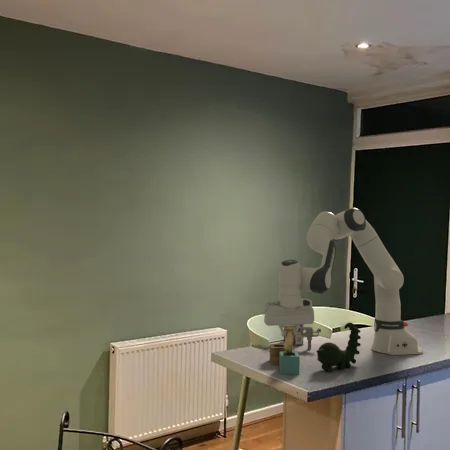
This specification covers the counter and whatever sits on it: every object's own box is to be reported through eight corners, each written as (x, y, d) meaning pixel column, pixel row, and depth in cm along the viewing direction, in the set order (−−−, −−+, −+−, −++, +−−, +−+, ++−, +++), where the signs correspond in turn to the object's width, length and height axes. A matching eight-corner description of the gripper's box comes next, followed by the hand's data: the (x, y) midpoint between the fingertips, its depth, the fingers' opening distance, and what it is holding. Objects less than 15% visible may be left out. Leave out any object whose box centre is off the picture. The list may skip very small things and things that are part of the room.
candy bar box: (303, 345, 256) (304, 310, 255) (294, 346, 254) (295, 311, 253) (292, 339, 266) (292, 306, 266) (283, 340, 264) (283, 307, 264)
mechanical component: (320, 350, 245) (320, 329, 245) (298, 349, 247) (298, 327, 247) (320, 349, 248) (320, 327, 248) (298, 347, 250) (298, 326, 250)
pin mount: (286, 360, 230) (286, 343, 229) (288, 364, 222) (288, 348, 222) (269, 359, 230) (269, 343, 229) (270, 364, 222) (271, 347, 222)
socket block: (297, 368, 216) (297, 351, 216) (299, 374, 209) (299, 356, 209) (279, 368, 217) (279, 351, 216) (280, 374, 209) (281, 356, 209)
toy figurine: (346, 364, 229) (306, 369, 213) (349, 320, 230) (309, 322, 214) (364, 369, 222) (324, 375, 206) (367, 323, 222) (327, 326, 207)
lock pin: (292, 357, 215) (292, 325, 215) (295, 359, 211) (295, 327, 211) (282, 357, 215) (282, 325, 214) (285, 360, 211) (285, 327, 210)
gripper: (267, 303, 207) (266, 338, 207) (316, 301, 212) (315, 336, 212) (262, 300, 213) (261, 335, 213) (310, 298, 218) (309, 332, 218)
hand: (289, 335), depth 213 cm, fingers closed on lock pin, 3 cm apart
